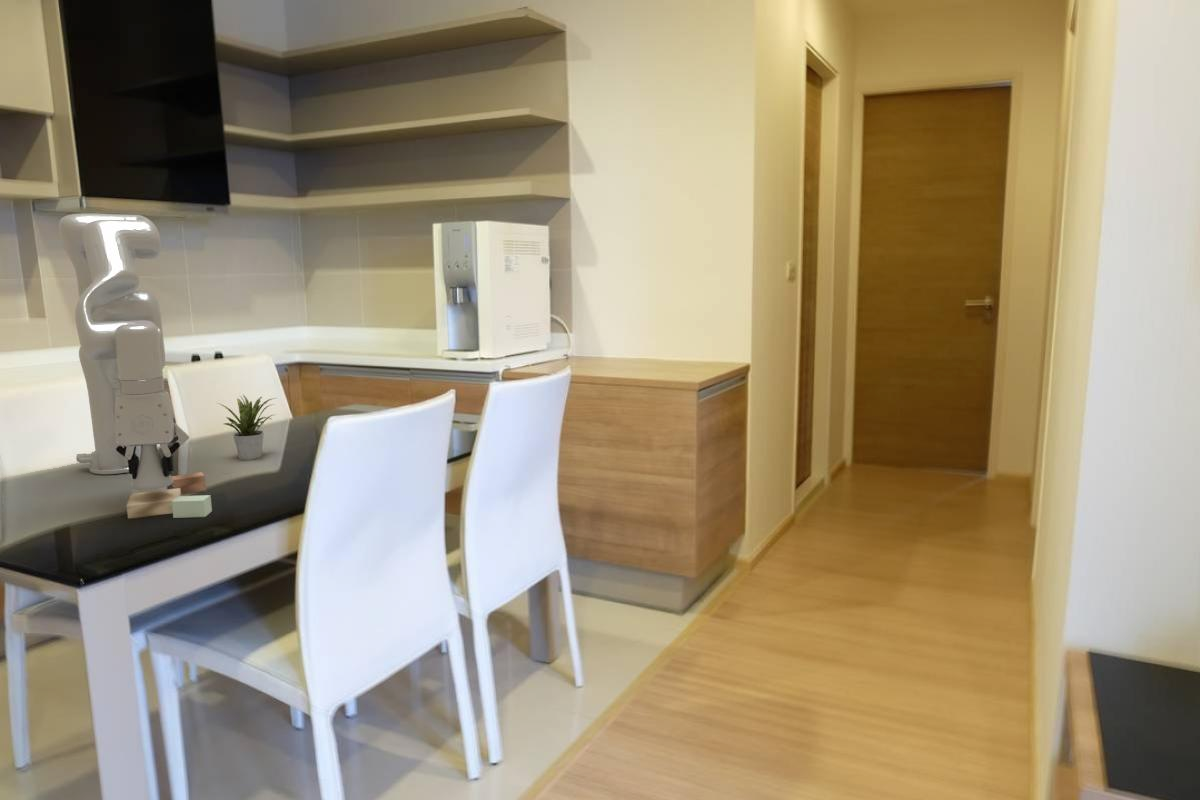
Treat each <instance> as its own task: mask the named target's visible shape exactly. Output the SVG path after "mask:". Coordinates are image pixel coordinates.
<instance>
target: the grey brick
mask: <svg viewBox="0 0 1200 800" xmlns="http://www.w3.org/2000/svg"><path fill="white" fill-rule="evenodd" d="M132 484H133V482H131V483H130V487H132ZM167 489H168V486H167V487H163V488H159V489H155V490H137V489H133V488H131V494H132V493H141V492H150V491H158V490H167Z"/></svg>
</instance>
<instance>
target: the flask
mask: <svg viewBox="0 0 1200 800" xmlns="http://www.w3.org/2000/svg"><path fill="white" fill-rule="evenodd" d="M171 476H172V475H171V474H170V475H169V476H168V477H165V476H164V473H163V464H162V457H161V455H160V453H159V449H158V444H156V445H141V454H140V460H139V464H138V467H137V477H136V479H133V480H132V483H133V484H132V487H131V486H130V487H131V488H133V489H137V490H155V489H159V488H163V487H167V488H168V487H169V486H172V483H174V480H173V478H172V477H171Z"/></svg>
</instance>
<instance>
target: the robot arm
mask: <svg viewBox="0 0 1200 800" xmlns="http://www.w3.org/2000/svg"><path fill="white" fill-rule="evenodd" d="M58 234H59V238H60V241H61V246H63V248H64V251H65V253H66V254H67V257H68V259H70V260H69V261H70V262H71V264H72V266H73V268H74V271H75V276H76V281H77V291H78V296H79V298H78V301H77V303H76V306H75V311H74V316H75V317H74V318H75V325H76V330H77V336H78V340H79V345H80V347H79V350H78V358H79V362H80V366H81V369H82V372H83V376H84V379H85V382H86V387H87V395H88V402H89V409H90V418H91V424H92V425H91V426H92V432H93V434H92V435H93V441H94V451H92V452H90V453H76V461H77V463H78V462H79V464H86V463H90V464H91V465H90V466H89V472H90V473H91V474H95V475H117V474H126V473H129V475H131V477H132V479H133V480H134V479H136V477H137V467H138V464H139V460H140V454H141V445H156V444H157V445H159V446H160V448H161V451H162V453H163V457H161V459H162V464H163V473H164V476H165V477H168V476H169V475H171V474H172V472H174V469H175V468H174V461H173V460H174V457H173V454H174V453H175V452H176V451H177V450H178V449H179V448H180V447H181V446H182V445H184V444H185V443H186V442H187V441H188V440H190V436H189V435H188V434H187V433H186V432H185V431H184V430H183V429H182V428H181V427H180V426H179V425H178V424H177V422H176V420H177V419H176V416H175V415H176V414H175V410H174V407H173V402H172V399H171V396H170V393H169V391H165V382H164V374H163V373H164V372H163V369H164V368H165V367H166V350H165V342H164V333H163V324H162V314H161V309H160V304H159V301H158V298H157V297H156V294H154V292H152V291H150V290H147V289H141V288H139V289H138V287H139V285H140V276H139V273H138V269H137V266H136V265H137V264H136V262H135V260H137V259H138V260H153V259H157V258H158V257H159V256H160V254H161V252H162V240H161V239H162V238H161V235H160V232H159V230H158V228H157V226H156V224H154V222H153V221H152V220H150V219H148V218H147V217H146V216H144V215H141V214H118V213H117V214H116V213H91V212H90V213H86V212H85V213H73V214H68V215H65V216H63V217H62V218H61V219H60V220H59V223H58ZM176 437H177V440H176V441H175V442H174V443H173V444H172V441H173V440H174V439H175V438H176Z"/></svg>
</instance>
